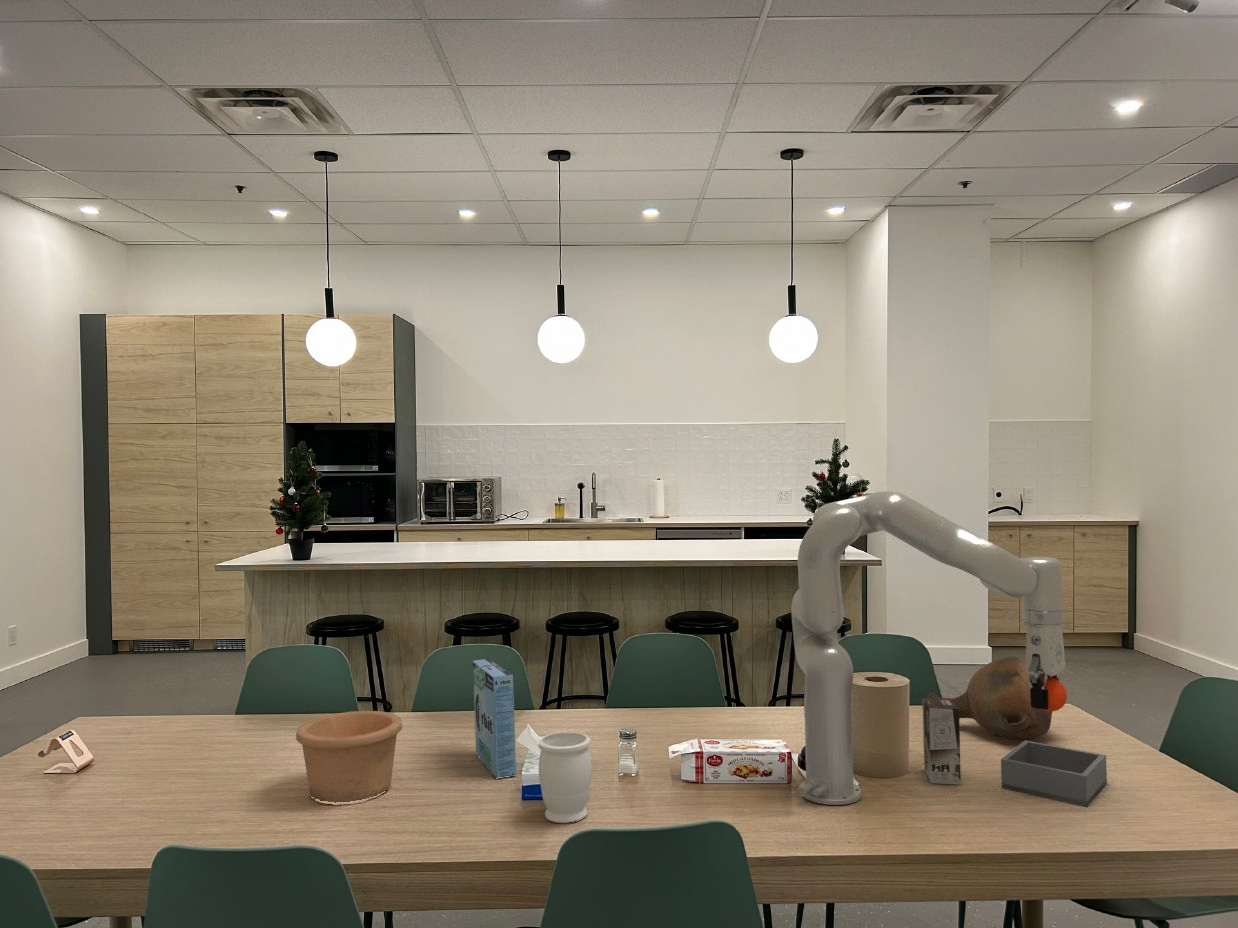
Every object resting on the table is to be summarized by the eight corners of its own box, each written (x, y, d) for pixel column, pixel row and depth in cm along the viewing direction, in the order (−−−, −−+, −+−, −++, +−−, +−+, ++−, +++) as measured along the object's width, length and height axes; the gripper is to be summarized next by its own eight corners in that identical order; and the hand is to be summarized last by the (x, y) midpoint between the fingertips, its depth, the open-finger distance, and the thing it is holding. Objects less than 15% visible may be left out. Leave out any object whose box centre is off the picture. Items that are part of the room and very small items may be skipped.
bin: (1087, 807, 166) (1086, 776, 166) (1001, 788, 177) (1000, 759, 177) (1106, 783, 178) (1106, 754, 178) (1025, 767, 188) (1024, 740, 188)
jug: (1073, 736, 209) (949, 737, 226) (1059, 655, 214) (939, 662, 232) (1054, 740, 193) (923, 741, 211) (1039, 653, 199) (913, 660, 216)
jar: (572, 830, 160) (570, 750, 161) (528, 819, 166) (527, 742, 166) (602, 810, 169) (601, 735, 170) (560, 801, 175) (559, 728, 175)
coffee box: (962, 785, 179) (960, 708, 179) (930, 783, 180) (928, 707, 180) (954, 770, 188) (952, 697, 188) (923, 768, 189) (921, 696, 189)
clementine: (1025, 713, 172) (1024, 678, 172) (1022, 704, 179) (1021, 670, 179) (1069, 716, 169) (1068, 681, 170) (1065, 707, 176) (1064, 673, 176)
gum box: (516, 776, 190) (514, 674, 190) (494, 780, 188) (492, 676, 188) (494, 751, 208) (492, 657, 208) (474, 754, 206) (472, 659, 206)
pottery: (278, 793, 183) (277, 726, 183) (370, 766, 199) (368, 704, 199) (328, 819, 168) (327, 747, 168) (423, 788, 184) (421, 721, 184)
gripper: (1049, 625, 166) (1052, 717, 165) (1075, 613, 178) (1077, 698, 178) (1009, 621, 171) (1012, 710, 171) (1037, 610, 183) (1039, 692, 183)
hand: (1045, 703), depth 174 cm, fingers closed on clementine, 7 cm apart
